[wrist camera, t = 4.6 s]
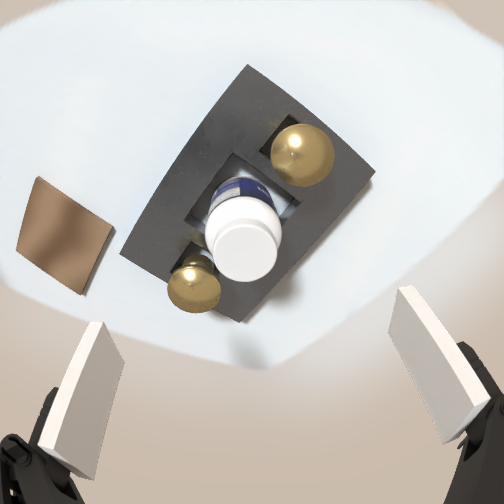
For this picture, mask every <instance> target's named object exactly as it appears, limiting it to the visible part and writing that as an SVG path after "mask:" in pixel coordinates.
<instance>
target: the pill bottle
mask: <svg viewBox="0 0 504 504" xmlns="http://www.w3.org/2000/svg"><path fill="white" fill-rule="evenodd" d="M281 237H282V229H281V224H280V220H279V217H278V215H277V212H276V209H275V207H274V204H273V201H272V199H271V196H270V194H269V192H268V190H267V189H266V188H265V186H264V185H263V184H262V183H260V182H259V181H258V180H256V179H254V178H251V177H247V176H236V177H232V178H230V179H227V180H226V181H224V182H223V183H221V184H220V185H219V186H218V187H217V189H216V190H215V192H214V194H213V197H212V200H211V204H210V208H209V212H208V217H207V222H206V228H205V240H206V244H207V247H208V249H209V251H210V252H211V254H212V255H213V260H214V263H215V265H216V267H217V269H218V270H219V271H220V272H221V273H222V274H223V275H224V276H226V277H227V278H229V279H232V280H234V281H240V282H250V281H254V280H257V279H259V278H261V277H263V276H265V275H266V274H267V273H268V272H269V271H270V270H271V269H272V268H273V266H274V264H275V262H276V258H277V250H278V248H279V246H280V242H281Z"/></svg>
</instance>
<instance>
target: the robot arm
mask: <svg viewBox="0 0 504 504" xmlns="http://www.w3.org/2000/svg"><path fill="white" fill-rule="evenodd" d="M388 334H389V336H390V337H391V339H392V341H393V343H394V345H395V347H396V349H397V350H398V352H399V354H400V356H401V358H402V360H403V362H404V363H405V365H406V367H407V369H408V371H409V373H410V375H411V377H412V379H413V381H414V383H415V385H416V387H417V389H418V391H419V393H420V395H421V397H422V399H423V401H424V404H425V406H426V408H427V410H428V412H429V414H430V416H431V418H432V421H433V423H434V425H435V427H436V429H437V432H438V434H439V436H440V438H441V440H442V443H443V444H446V443H448V442H450V441H452V440H454V439H456V438H459V437H460V435H461V434H462V433H463V432H464V431H466V433H467V436H466V437H465V439H464V440H463V441H462V442H461V443H460V444H459V446H458V447H457V449H460V448H461V447H462V446H463V449H462V452H461V456H460V459H459V462H458V465H457V468H456V471H455V474H454V477H453V480H452V483H451V486H450V488H449V491H448V493H447V496H446V499H445V501H444V503H443V504H504V394H503V393H502V392H501V391H500V389H499V387H498V386H497V384H496V383H495V381H494V380H493V378H492V377H491V375H490V373H489V372H488V370H487V369H486V367H484V365H483V363H482V361H481V360H480V359H479V357H478V356H477V354H476V353H475V351H474V350H473V349H472V348H471V347H470V346H469V345H467V344H466V343H465V342H460V343H457V344H456V343H455V342H454V340H453V339H452V338H451V336H450V335H449V333H448V332H447V330H446V329H445V328H444V327H443V325H442V324H441V322H440V321H439V319H438V318H437V317H436V315H435V314H434V313H433V312H432V310H431V309H430V307H429V306H428V305H427V304H426V302H425V301H424V300H423V298H422V297H421V296H420V294H419V293H418V292H417V291H416V289H415V288H414V287H413V286H412V285H410V286H405V287H399V288H398V290H397V296H396V300H395V305H394V309H393V314H392V318H391V323H390V327H389V331H388ZM124 363H125V362H124V360H123V359H122V357H121V355H120V353H119V351H118V349H117V348H116V346H115V344H114V342H113V340H112V338H111V336H110V334H109V332H108V330H107V328H106V326H105V324H104V322H90V323H89V325H88V327H87V329H86V331H85V333H84V335H83V337H82V339H81V341H80V344H79V346H78V347H77V349H76V352H75V354H74V356H73V358H72V360H71V362H70V365H69V367H68V369H67V371H66V374H65V376H64V378H63V380H62V383H61V385H60V387H59V388H57V387H54V388H53V389H52V390H51V392H50V393H49V394H48V395H47V397H46V399H45V402H44V404H43V408H42V409H41V412H40V416H39V417H38V419H37V422H36V424H35V427H34V429H33V432H32V435H31V438H30V441H29V443H28V444H27V443H26V442H25V441H24V440H23V439H22V438H21V437H19V436H18V435H17V434H9V435H7V436H6V437H4V438H3V440H2V441H1V443H0V504H85V503H84V501H83V499H82V497H81V496H80V493H79V492H78V490H77V488H76V486H75V484H74V481H73V480H72V479H71V477H70V472H72V473H74V474H75V475H77V476H78V477H81V478H85V479H89V480H94V477H95V473H96V468H97V463H98V459H99V454H100V450H101V446H102V442H103V438H104V434H105V430H106V426H107V422H108V418H109V415H110V411H111V407H112V403H113V400H114V397H115V393H116V390H117V386H118V383H119V380H120V376H121V373H122V370H123V366H124ZM10 489H11V490H13V496H12V495H11V494H10Z"/></svg>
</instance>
